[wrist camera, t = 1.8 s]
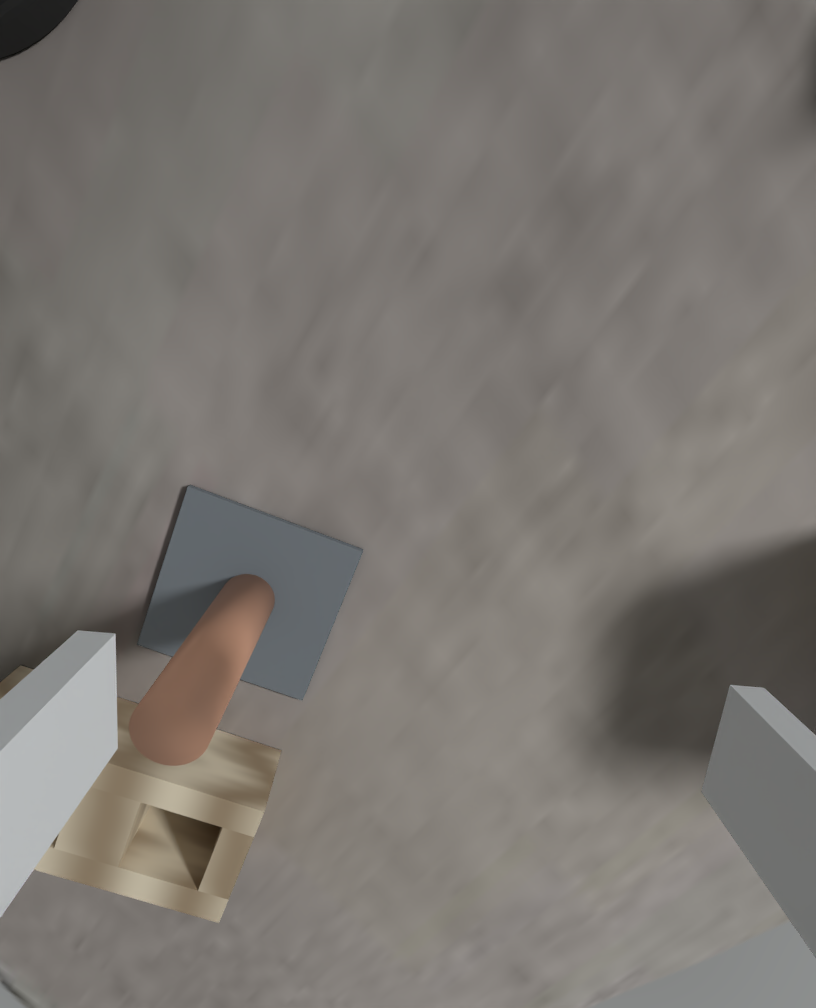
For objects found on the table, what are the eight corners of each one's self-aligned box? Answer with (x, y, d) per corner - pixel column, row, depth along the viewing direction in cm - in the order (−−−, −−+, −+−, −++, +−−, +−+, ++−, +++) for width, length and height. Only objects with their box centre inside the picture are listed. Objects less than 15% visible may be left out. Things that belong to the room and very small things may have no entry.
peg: (214, 612, 34) (119, 750, 22) (230, 566, 33) (141, 684, 22) (264, 630, 34) (197, 775, 23) (281, 584, 34) (221, 710, 22)
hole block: (-10, 774, 37) (-71, 839, 32) (20, 665, 35) (-41, 716, 30) (240, 850, 39) (218, 923, 34) (281, 750, 37) (264, 811, 32)
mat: (139, 641, 35) (137, 644, 34) (190, 484, 32) (187, 486, 32) (303, 696, 36) (302, 700, 35) (363, 549, 34) (362, 551, 33)
